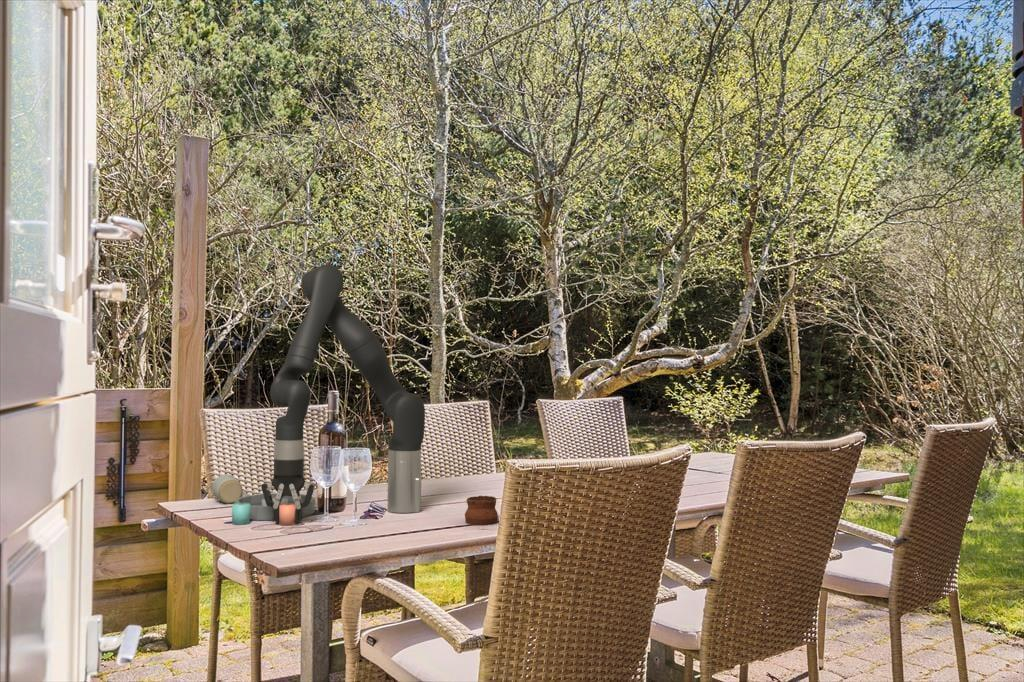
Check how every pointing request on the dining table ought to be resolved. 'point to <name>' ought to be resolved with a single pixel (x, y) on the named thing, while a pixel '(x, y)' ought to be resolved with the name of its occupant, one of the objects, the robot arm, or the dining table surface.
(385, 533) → the dining table surface
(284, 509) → the brick bead
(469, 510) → the ceramic pot
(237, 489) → the ceramic mug
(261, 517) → the groove tray
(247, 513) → the teal cylinder
